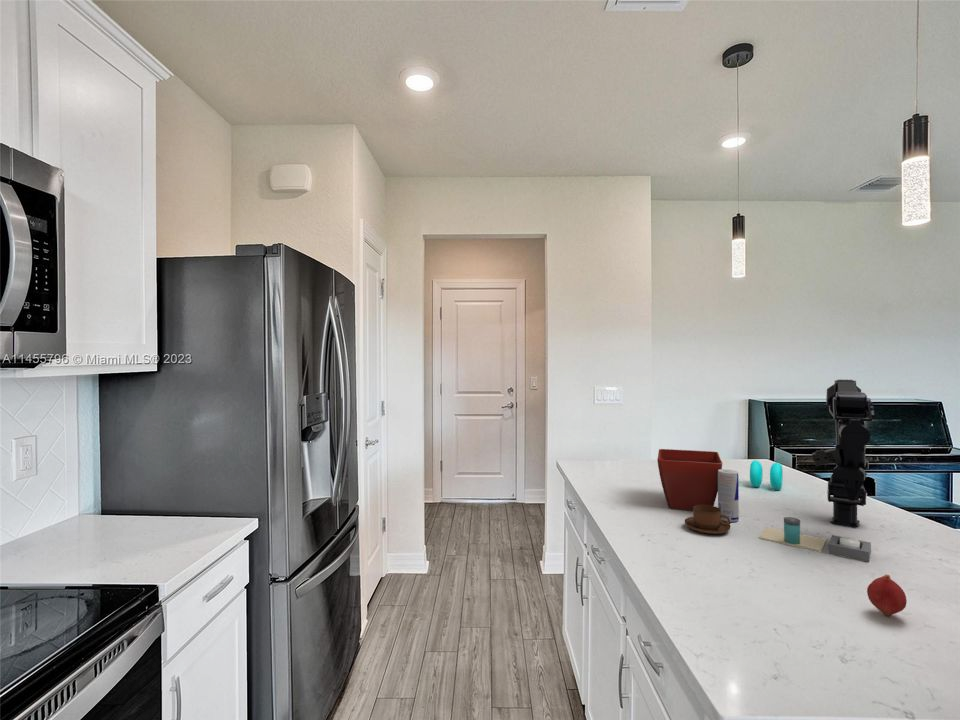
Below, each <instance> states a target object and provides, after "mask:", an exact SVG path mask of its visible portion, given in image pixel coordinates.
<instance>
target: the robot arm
mask: <svg viewBox="0 0 960 720" xmlns="http://www.w3.org/2000/svg"><path fill="white" fill-rule="evenodd" d="M825 395H826V398H825V401H826V402H825V403H826V406H828V412H829V413H830V415H831V416H832V417H833V419H834V421H835V447H834V448H829V449H823V448H822V449H820V450H815V452H812V453H811V457H812V462H814V464H815V467H819V466H822V465H827V464H832V463H835V465H836V466H835V467H834V468H832V474H831V475H830V480H828V481H827V490H826V491H827V492H826V493H827V502H829V503H832V504H833V505H832V508H833V509H832V511H833V513H832V515H833V516H832V517H831V519H830V523H831V524H837V525H842V526H847V527H852V528H859V527H860V526H859V525H860V524H861V521H860V520H859V519H858V506H861V507H864V506H865V505H867V493H868V492H867V490H866V489H865V486H864V482H865V480H866V478H867V475H868V473H867V472H866V470H867V471H868V470H869V466H870V462H869V460H868V459H867V458H866V449H867V444H868V443H869V442H870V441H871V434H870V432H869V430H868V429H867V427H866V424H865V422H870V423H871V422H872V421H873V419H874V418H875V409H874V403H873V401H871V400H872V399H871V398H870V397H868V395H867V394H866V393H865V392H862V388H859V387H858V385H857V380H854V379H836V380H834V384H832V385H831V386H829V387H828V388H826V394H825ZM864 468H865V469H864Z"/></svg>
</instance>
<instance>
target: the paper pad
mask: <svg viewBox="0 0 960 720" xmlns="http://www.w3.org/2000/svg"><path fill="white" fill-rule="evenodd" d="M758 539H760V540H765V541H768V542H769V541H770V542H772V543H773V542H774V543H778V544H783V545H787V546H791V547H792V546H793V547H796V548H802V549H806V550H811V551H816V552H820V553H822V551H823V548H824V546H825V544H826V542H827V538H823V537H819V536H818V537H817V536H812V535H808V534H803V533H800V544H790V543H787V542H785V541H784V529H780V528H779V529H778V528H773V527H768V526H767V527H766V528H765V529H764V530H763V531H762V533H761V534H760V535H759V536H758Z"/></svg>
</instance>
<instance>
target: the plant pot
mask: <svg viewBox="0 0 960 720" xmlns="http://www.w3.org/2000/svg"><path fill="white" fill-rule="evenodd" d="M657 468H658V473H659V478H660V483H661V487H662V490H663V493H664V497H665V500H666V503H667V506H668V508H669V509H672V510H673V509H674V510H681V511H683V510H684V511H692V512H693V507H694V506H696V505H709V506H714V507H715V503H716V500H717V497H718V470H720V469H723V462H722V459H721V457H720V454H719V452H718V451H710V450H709V451H708V450H707V451H706V450H690V449H689V450H688V449H670V448H667V449H666V448H658V454H657Z"/></svg>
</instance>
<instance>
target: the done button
mask: <svg viewBox="0 0 960 720" xmlns="http://www.w3.org/2000/svg"><path fill="white" fill-rule="evenodd" d="M841 537H842V538H840V545H845V546H850V547H855V548H860V542H859V541H858V540H859V539H856V538H853V537H845V536H841Z"/></svg>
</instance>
